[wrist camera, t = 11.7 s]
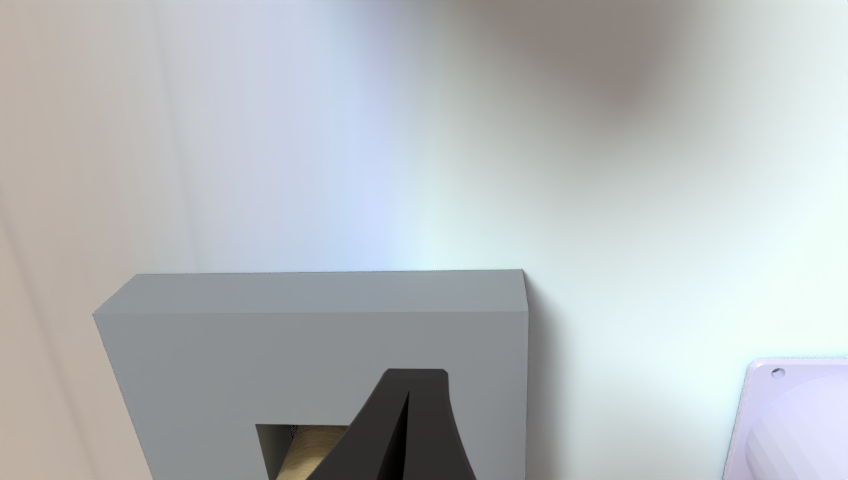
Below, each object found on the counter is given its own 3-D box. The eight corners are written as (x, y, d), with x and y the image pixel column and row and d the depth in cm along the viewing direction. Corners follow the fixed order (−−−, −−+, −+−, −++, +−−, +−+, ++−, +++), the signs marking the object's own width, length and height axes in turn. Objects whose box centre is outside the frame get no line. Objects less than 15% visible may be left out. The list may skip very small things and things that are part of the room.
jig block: (522, 269, 22) (528, 311, 19) (518, 545, 29) (522, 605, 26) (136, 274, 24) (92, 313, 21) (218, 534, 30) (193, 589, 28)
